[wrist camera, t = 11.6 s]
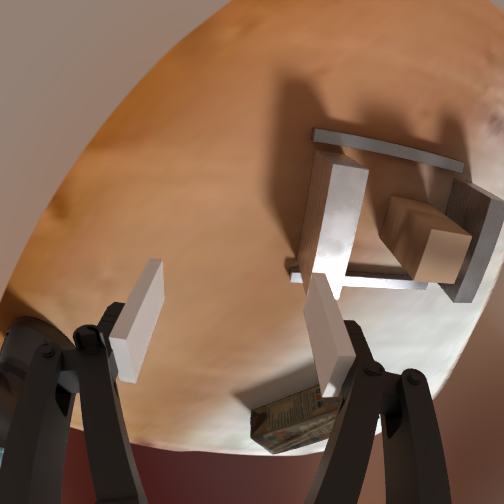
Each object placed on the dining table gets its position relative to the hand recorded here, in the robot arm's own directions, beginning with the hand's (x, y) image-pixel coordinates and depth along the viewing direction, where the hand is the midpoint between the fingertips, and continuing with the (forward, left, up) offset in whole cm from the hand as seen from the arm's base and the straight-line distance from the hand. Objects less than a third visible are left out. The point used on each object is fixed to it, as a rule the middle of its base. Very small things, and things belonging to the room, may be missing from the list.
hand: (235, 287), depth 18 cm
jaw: (+8, 0, -15) cm, 17 cm away
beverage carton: (+14, -31, -16) cm, 38 cm away
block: (+18, 0, -15) cm, 24 cm away
